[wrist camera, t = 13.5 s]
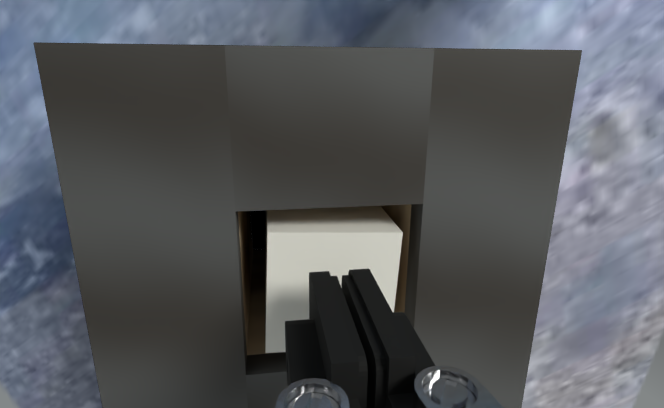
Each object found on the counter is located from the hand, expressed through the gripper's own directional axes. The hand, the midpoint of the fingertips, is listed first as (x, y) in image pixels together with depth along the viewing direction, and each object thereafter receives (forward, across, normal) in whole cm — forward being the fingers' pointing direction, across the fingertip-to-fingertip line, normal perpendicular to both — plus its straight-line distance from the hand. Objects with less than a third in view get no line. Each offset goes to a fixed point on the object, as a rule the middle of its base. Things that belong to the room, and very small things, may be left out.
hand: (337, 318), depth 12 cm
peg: (+11, 0, 0) cm, 11 cm away
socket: (+11, 0, 0) cm, 11 cm away
